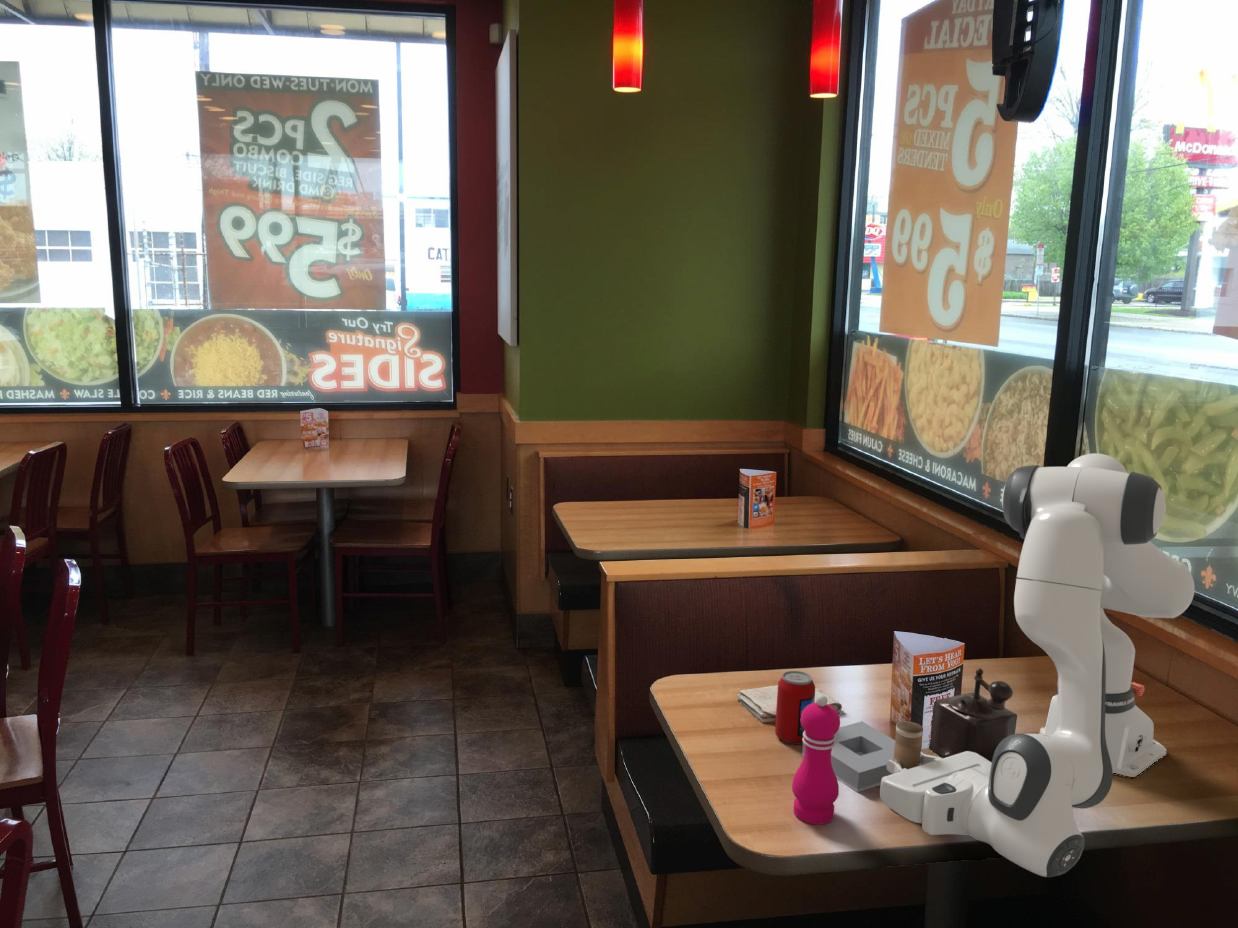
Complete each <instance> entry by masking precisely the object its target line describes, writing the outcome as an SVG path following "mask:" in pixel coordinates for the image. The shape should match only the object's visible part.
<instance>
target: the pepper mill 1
mask: <svg viewBox="0 0 1238 928" xmlns="http://www.w3.org/2000/svg"><path fill="white" fill-rule="evenodd" d="M827 702H828V700H827V698H826V697H825V696H824V695H819V696H818V697H817V698H816V703H812V704H809V705H808V706H806V707H805V708H804V710H803V711H802V714H801V725H802V727H803V729H804V730H805V731H804V732H803V739H802V740H803V743H804V744H805V753H804V756H802V757H803V758H802V761H801V762H800V765H799V766H798V768H797V770H796V772H795V773H794V775H793V777H792V778H793V779H792V782H791V783H792V784H791V792H792V794H793V795H794V797H795V799H794V800H793V813H794V816H795V817H797V819H798V820H801V821H802V822H804V823H807V824H811V825H824V824H828V823H830V822H831V821H833V819H834V818H835V817H834V815H835V805H834V803H835V802H836V801H837V799H838V798H839V795H840V789H839V788H840V787H839V782H838V781H839V780H838V779H837V778H836V775H835V773H834V770H833V768H832V764H831V751H832V748H833V747H834V746H835V739H836V737H835V735H834V734H835V733H836V732H837V731H838V730H839V727H841V720H840V719H841V718H840V715H839V712H837V711H836V710H835V709H834V708H833V707H832V706H831V705H829V704H827ZM803 743H802V744H803Z"/></svg>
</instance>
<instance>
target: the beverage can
mask: <svg viewBox="0 0 1238 928" xmlns="http://www.w3.org/2000/svg"><path fill="white" fill-rule="evenodd" d="M777 685H778V692H777V707H776V722H775V725H774V726H775V728H774V729H775V730H774V732H775V735H776V737H777V738H779V739H780V740H782V741H783V742H785V743H787V744H792V745H799V744H803V740H802V739H803V732H804V731H805V730H804V729H803V727H802V725H801V714H802V711H803V710H804V708H805V707H806V706H808V705H809V704H812V703H814V702H815V687H816V685H815V683H814V681H813V677H812V675H810V674H809V673H807V672H804V671H798V670H789V671H785V672H784V673H782V676H781V677H780V679H779V681H778V684H777Z"/></svg>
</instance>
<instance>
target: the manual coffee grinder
mask: <svg viewBox="0 0 1238 928" xmlns="http://www.w3.org/2000/svg"><path fill="white" fill-rule="evenodd" d="M983 675H984V670H983V669H982V668H980V667H979V668H978V667H977V668H976V669H975V675H974V677H973V679H974V683H975V685H974V691H973V692H969V693H964V694H958V695H954V696H953V695H952V696H947V697H943V698H938V699H939V700H938V699H935V700H936V701H935V702H934V701H933V703H934V705H933V704H932V713H933V715H931V723H932V727H931V726H930V734H931V737H930V736H929V737H930V738H931V739H930V738H929V745H928V749H930V751H933V752H934V753H935V754H937V755H939V757H940V758H942V759H943V758H946V757H949V756H952V755H956V754H959V753H962V752H965V751H970V752H974V753H977V754H979V755H980V756H982V757H984V758H985V759H987V760H988V761H990V762H991V763H992V759H993V755H994V752H995V750H996V748H997V746H998V745H999V743H1000V742H1001V741H1002V740H1003V739H1005V738H1006V737H1008V736H1010V735H1013V734H1016V730H1017V729H1016V727H1017V721H1018V714H1016V713H1015V712H1013V711H1012V710H1010V709H1007V708H1006V705H1005V704H1006V701H1007V702H1008V700H1010V699H1012V697H1013V693H1014V691H1013V688H1012V686H1011V685H1010V684H1009V683H1007V682H1005V681H1003V680H996V681H992V682H991V683H990V684H989V683H988V682H986V681H985V680H984V678H983ZM981 686H982V688H984V689H985V690H986V691H988V692H989V694H990V698H989V699H988V698H986V697H985V696H982V695H981V694H980V693H981ZM932 719H933V720H932Z"/></svg>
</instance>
